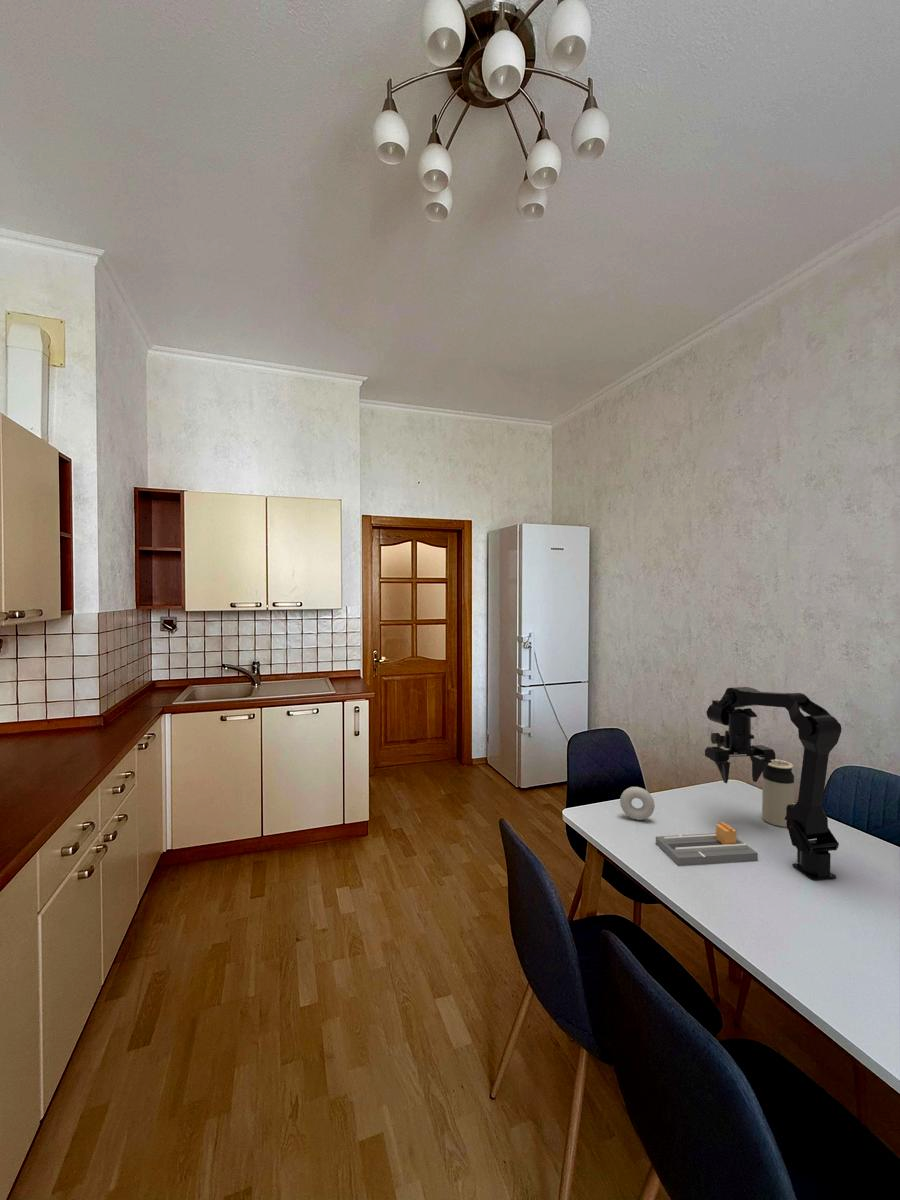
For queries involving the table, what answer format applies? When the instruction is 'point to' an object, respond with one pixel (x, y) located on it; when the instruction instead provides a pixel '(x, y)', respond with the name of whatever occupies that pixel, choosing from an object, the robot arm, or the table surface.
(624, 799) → the donut
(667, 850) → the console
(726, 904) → the table surface
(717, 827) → the fader cap
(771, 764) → the travel mug
